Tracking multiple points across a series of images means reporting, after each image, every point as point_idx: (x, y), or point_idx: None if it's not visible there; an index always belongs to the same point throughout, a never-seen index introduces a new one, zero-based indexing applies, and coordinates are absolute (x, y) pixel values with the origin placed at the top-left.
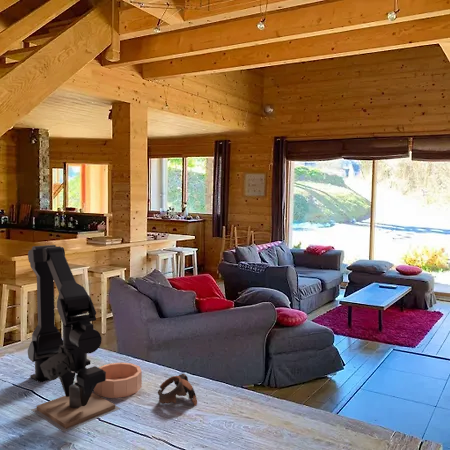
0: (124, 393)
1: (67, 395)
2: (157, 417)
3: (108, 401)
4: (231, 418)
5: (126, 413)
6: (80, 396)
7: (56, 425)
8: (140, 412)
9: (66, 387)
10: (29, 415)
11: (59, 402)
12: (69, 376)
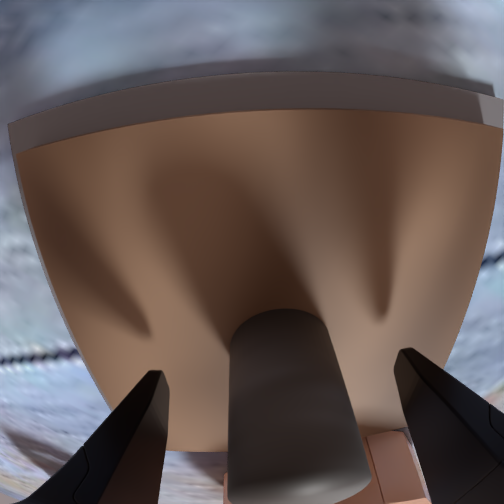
0: (226, 488)
1: (402, 361)
2: (34, 441)
3: (189, 450)
4: (5, 470)
5: (91, 427)
6: (126, 435)
7: (117, 103)
8: (80, 445)
9: (436, 412)
10: (457, 52)
11: (420, 280)
12: (460, 501)
